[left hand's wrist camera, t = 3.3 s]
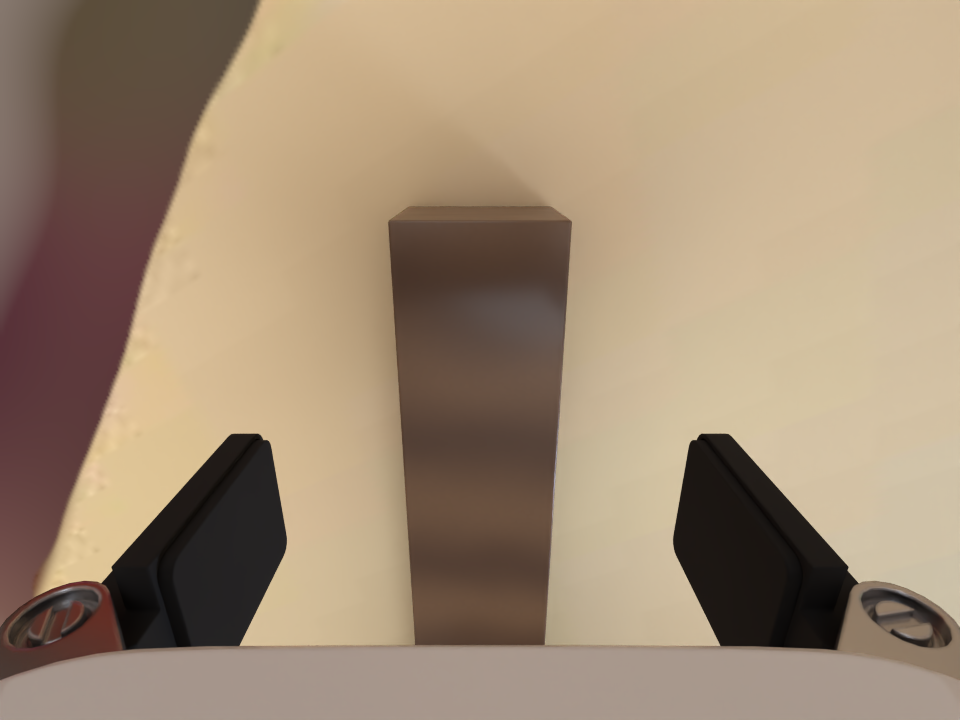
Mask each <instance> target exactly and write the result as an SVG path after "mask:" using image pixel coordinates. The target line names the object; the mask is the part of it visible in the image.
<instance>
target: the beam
mask: <svg viewBox="0 0 960 720" xmlns="http://www.w3.org/2000/svg"><path fill="white" fill-rule="evenodd" d="M388 226H389V242H390V257H391V273H392V288H393V304H394V320H395V335H396V351H397V366H398V382H399V398H400V413H401V429H402V444H403V460H404V476H405V491H406V507H407V522H408V538H409V554H410V569H411V585H412V600H413V616H414V632H415V645H545V632H546V616H547V600H548V585H549V569H550V554H551V538H552V522H553V507H554V491H555V476H556V460H557V444H558V429H559V413H560V398H561V382H562V366H563V351H564V335H565V320H566V304H567V288H568V273H569V257H570V242H571V226H572V222H571V220H569V219H568V218H566V217H565V216H564V215H562V214H561V213H559V212H558V211H557V210H555V209H554V208H552V207H408V208H406V209H405V210H403V211H402V212H401V213H399V214H398V215H396V216H395V217H394V218H392V219H391V220H389V222H388Z"/></svg>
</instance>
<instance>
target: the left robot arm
mask: <svg viewBox="0 0 960 720" xmlns="http://www.w3.org/2000/svg"><path fill="white" fill-rule="evenodd" d="M286 545H287V536H286V530H285V524H284V519H283V513H282V507H281V501H280V496H279V490H278V484H277V478H276V472H275V467H274V461H273V455H272V449H271V445H270V443H269V441H268V440H263V438H262V437H261V435H259V434H231V435H230V436H229V437H228V438H227V439H226V440H225V441H224V442H223V443H222V444H221V445H220V447H219V448H218V449H217V450H216V451H215V452H214V453H213V454H212V455H211V457H210V458H209V459H208V460H207V461H206V462H205V463H204V464H203V466H202V467H201V468H200V469H199V470H198V471H197V472H196V473H195V474H194V476H193V477H192V478H191V479H190V480H189V481H188V482H187V483H186V484H185V486H184V487H183V488H182V489H181V490H180V491H179V492H178V493H177V494H176V496H175V497H174V498H173V499H172V500H171V501H170V502H169V503H168V505H167V506H166V507H165V508H164V509H163V510H162V511H161V512H160V513H159V515H158V516H157V517H156V518H155V519H154V520H153V521H152V522H151V523H150V525H149V526H148V527H147V528H146V529H145V530H144V531H143V532H142V534H141V535H140V536H139V537H138V538H137V539H136V540H135V541H134V542H133V544H132V545H131V546H130V547H129V548H128V549H127V550H126V551H125V552H124V554H123V555H122V556H121V557H120V558H119V559H118V560H117V561H116V562H115V564H114V565H113V566H112V570H113V571H112V572H111V573H110V574H109V575H108V577H107V578H106V579H105V580H104V581H103V582H102V583H99V582H93V581H81V582H74V583H69V584H66V585H62V586H59V587H56V588H53V589H51V590H49V591H47V592H45V593H43V594H40V595H38V596H36V597H35V598H33V599H31V600H30V601H28V602H27V603H25V604H24V605H22V606H21V607H19V608H18V609H17V610H16V611H15V612H14V613H13V614H11V615H10V616H9V617H8V618H7V619H6V620H5V622H4V623H3V624H2V626H1V627H0V720H960V627H959V626H958V624H957V623H956V622H955V620H954V619H953V618H952V617H951V616H950V615H949V614H947V613H946V612H945V611H944V610H943V609H942V608H941V607H939V606H938V605H936V604H935V603H933V602H932V601H930V600H929V599H927V598H925V597H924V596H922V595H920V594H917V593H915V592H913V591H911V590H909V589H907V588H904V587H901V586H898V585H894V584H891V583H886V582H879V581H867V582H861V583H858V582H857V581H856V580H855V579H854V578H853V577H852V575H851V574H850V573H849V572H848V571H847V570H848V566H847V565H846V564H845V562H844V561H843V560H842V559H841V558H840V557H839V556H838V555H837V554H836V552H835V551H834V550H833V549H832V548H831V547H830V546H829V545H828V544H827V542H826V541H825V540H824V539H823V538H822V537H821V536H820V535H819V534H818V532H817V531H816V530H815V529H814V528H813V527H812V526H811V525H810V523H809V522H808V521H807V520H806V519H805V518H804V517H803V516H802V515H801V513H800V512H799V511H798V510H797V509H796V508H795V507H794V506H793V505H792V503H791V502H790V501H789V500H788V499H787V498H786V497H785V496H784V495H783V493H782V492H781V491H780V490H779V489H778V488H777V487H776V486H775V484H774V483H773V482H772V481H771V480H770V479H769V478H768V477H767V476H766V474H765V473H764V472H763V471H762V470H761V469H760V468H759V467H758V466H757V464H756V463H755V462H754V461H753V460H752V459H751V458H750V457H749V455H748V454H747V453H746V452H745V451H744V450H743V449H742V448H741V447H740V445H739V444H738V443H737V442H736V441H735V440H734V439H733V438H732V437H731V436H730V435H729V434H701V435H699V437H698V438H697V440H692V441H691V443H690V445H689V449H688V455H687V461H686V467H685V472H684V478H683V484H682V490H681V496H680V501H679V507H678V513H677V519H676V524H675V530H674V536H673V545H674V550H675V554H676V556H677V558H678V560H679V562H680V564H681V566H682V568H683V570H684V572H685V574H686V576H687V578H688V580H689V582H690V584H691V586H692V588H693V591H694V593H695V595H696V597H697V599H698V601H699V603H700V605H701V607H702V609H703V611H704V613H705V615H706V617H707V619H708V621H709V623H710V625H711V627H712V629H713V631H714V633H715V635H716V637H717V639H718V641H719V643H720V645H721V646H620V645H340V646H239V645H240V643H241V641H242V639H243V637H244V635H245V633H246V631H247V629H248V627H249V625H250V623H251V621H252V619H253V617H254V615H255V613H256V611H257V609H258V607H259V605H260V603H261V601H262V599H263V597H264V595H265V593H266V591H267V588H268V586H269V584H270V582H271V580H272V578H273V576H274V574H275V572H276V570H277V568H278V566H279V564H280V562H281V560H282V558H283V556H284V554H285V550H286Z"/></svg>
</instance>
